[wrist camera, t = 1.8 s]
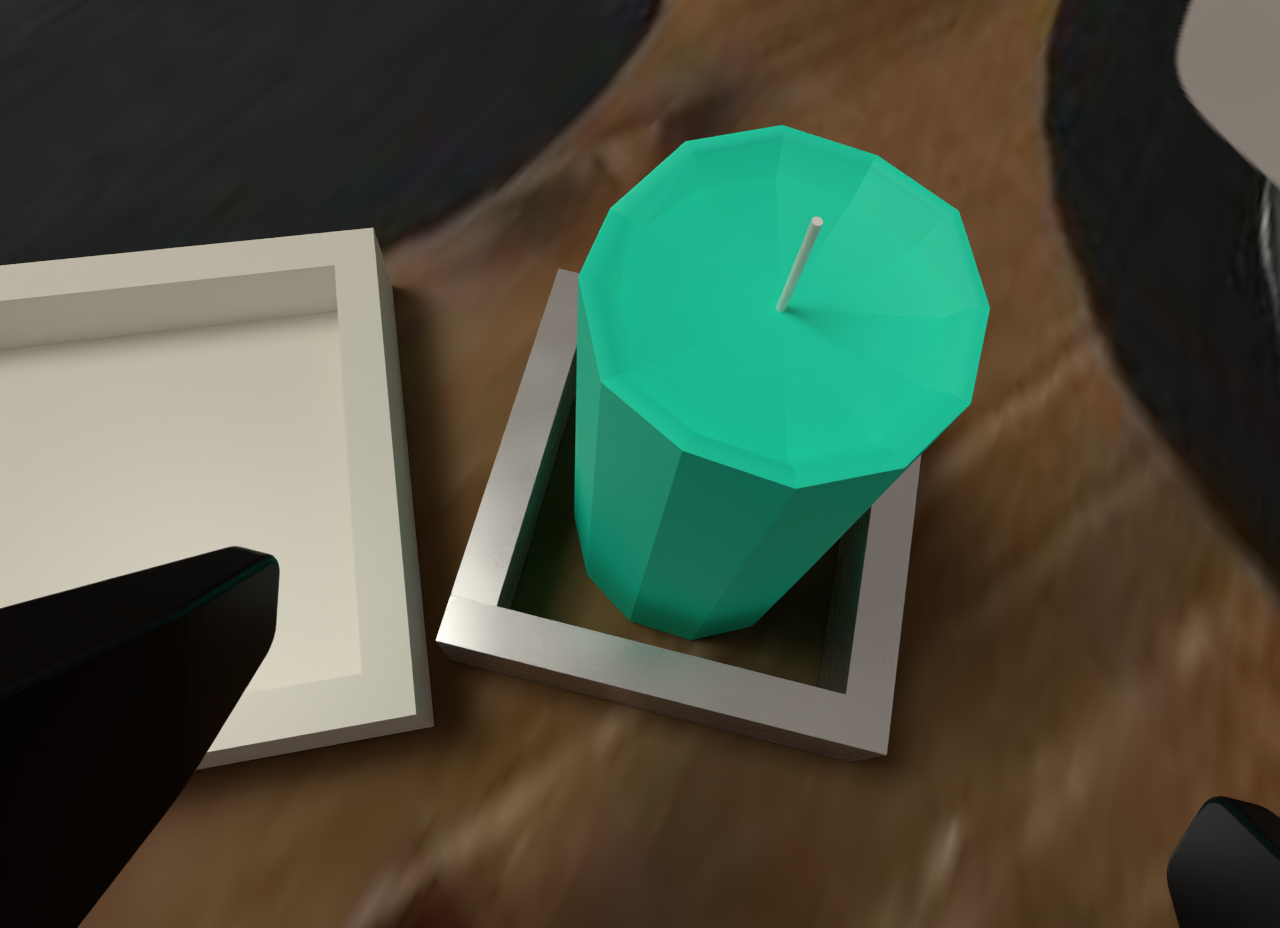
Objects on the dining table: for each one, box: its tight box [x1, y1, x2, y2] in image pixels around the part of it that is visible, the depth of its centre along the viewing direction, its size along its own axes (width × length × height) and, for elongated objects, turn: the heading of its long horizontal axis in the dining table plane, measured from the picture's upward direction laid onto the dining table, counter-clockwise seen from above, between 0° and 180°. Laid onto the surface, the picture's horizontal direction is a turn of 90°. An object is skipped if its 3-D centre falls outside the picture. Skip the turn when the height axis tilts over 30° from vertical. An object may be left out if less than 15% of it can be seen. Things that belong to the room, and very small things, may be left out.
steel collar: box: [436, 269, 921, 762], centre depth 21 cm, size 10×10×2 cm
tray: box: [0, 228, 434, 770], centre depth 20 cm, size 12×12×2 cm
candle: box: [574, 125, 990, 640], centre depth 16 cm, size 6×6×12 cm
